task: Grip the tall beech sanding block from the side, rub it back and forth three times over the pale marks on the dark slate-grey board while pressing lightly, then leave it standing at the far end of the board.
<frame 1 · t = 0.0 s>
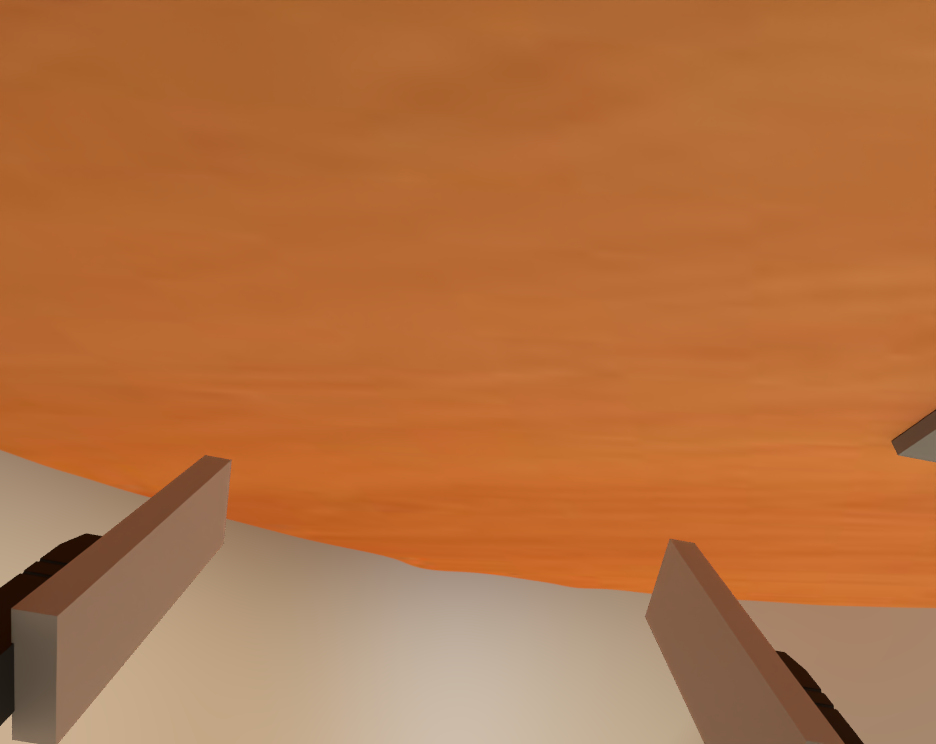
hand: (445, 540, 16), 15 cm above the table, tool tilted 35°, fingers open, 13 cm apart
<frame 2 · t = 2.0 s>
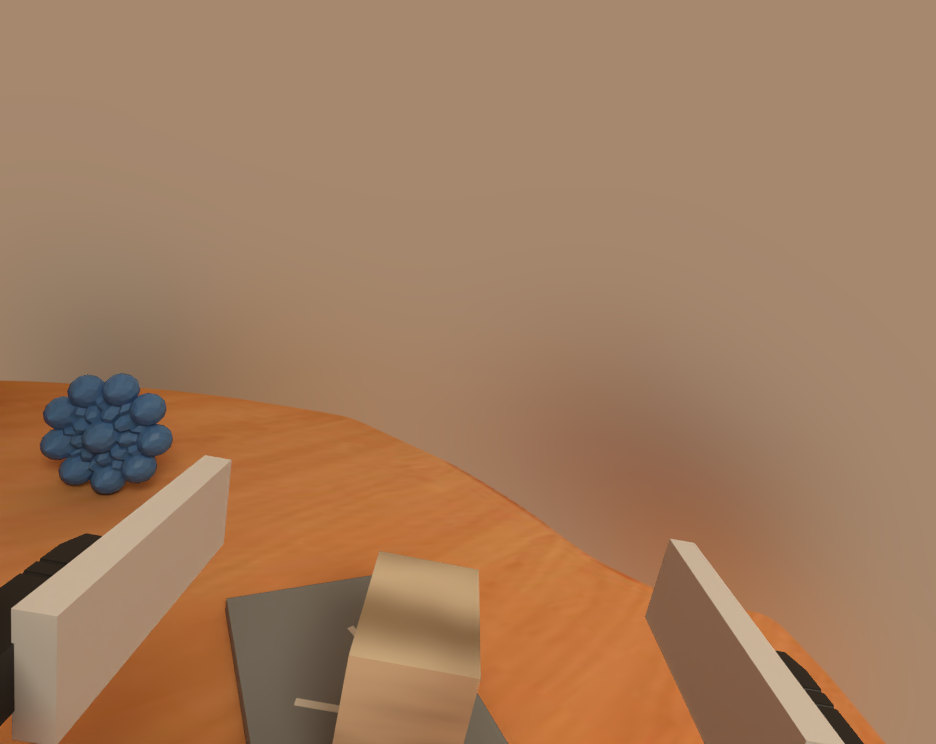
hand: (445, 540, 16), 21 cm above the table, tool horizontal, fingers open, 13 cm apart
grapes: (111, 490, 50), on the table
board: (364, 708, 34), on the table
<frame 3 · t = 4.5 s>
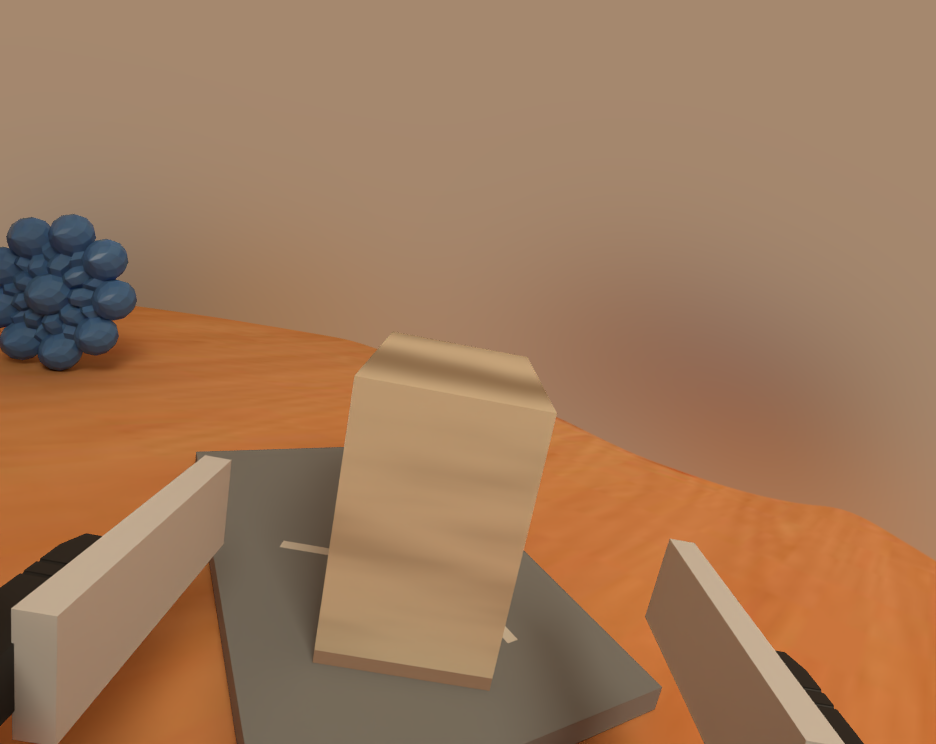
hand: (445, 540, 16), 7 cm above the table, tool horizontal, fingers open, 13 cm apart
grapes: (65, 369, 42), on the table
board: (375, 562, 25), on the table
sanding block: (413, 599, 22), point 1 cm above the table, touching board
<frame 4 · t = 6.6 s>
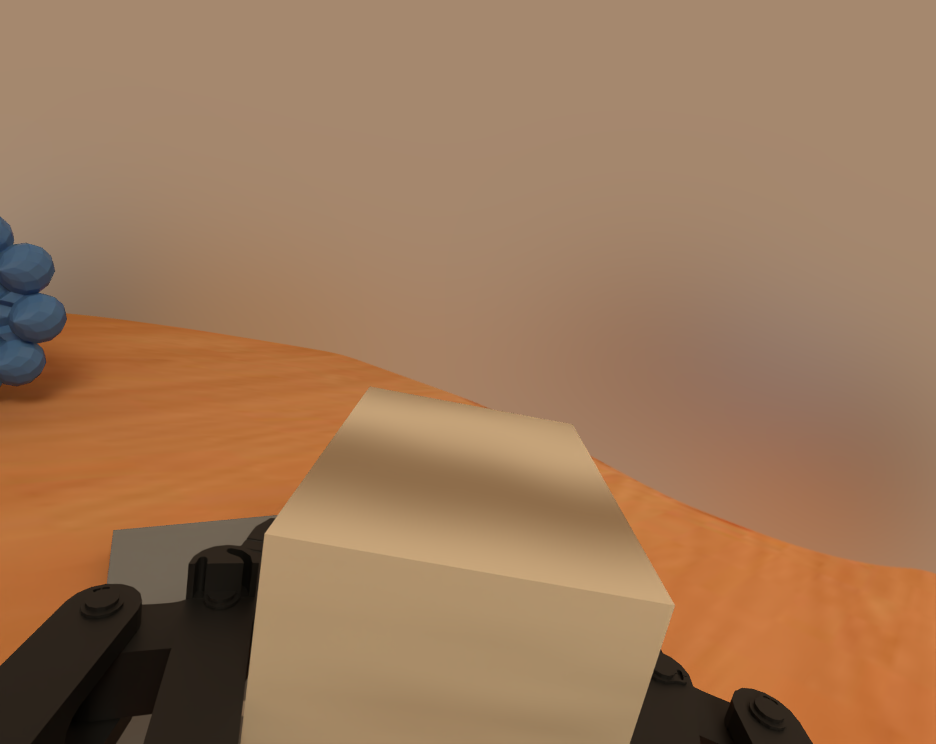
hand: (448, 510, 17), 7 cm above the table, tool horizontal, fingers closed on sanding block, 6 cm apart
board: (347, 715, 17), on the table
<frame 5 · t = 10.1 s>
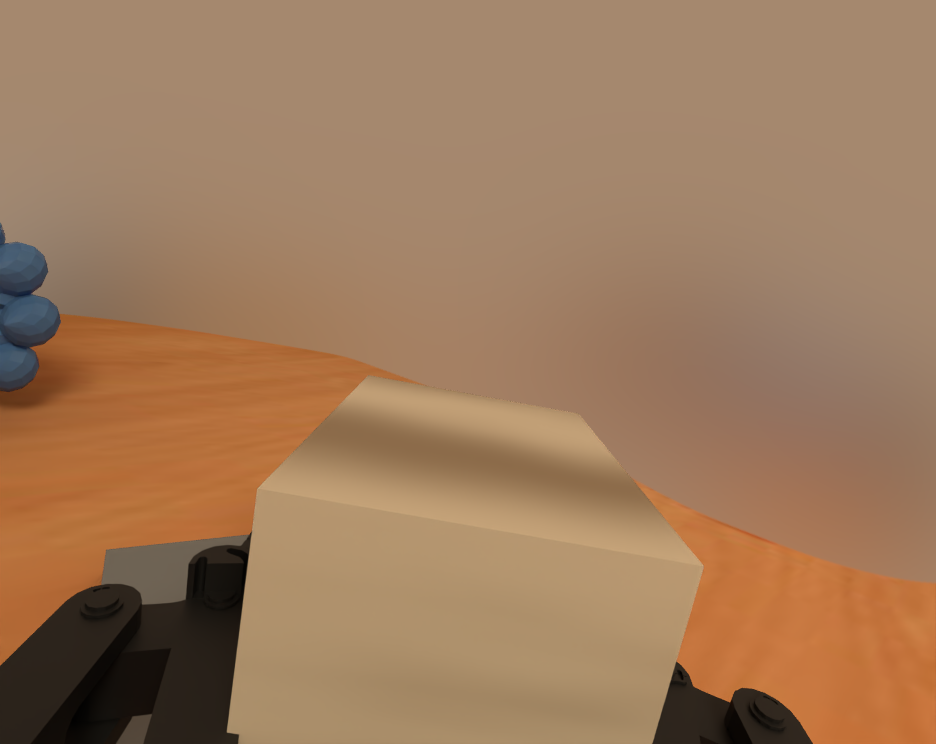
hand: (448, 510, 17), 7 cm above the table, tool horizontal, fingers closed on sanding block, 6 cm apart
when the fingers open (7 cm above the table, at t = 13.4 s): sanding block stays where it is, resting on board.
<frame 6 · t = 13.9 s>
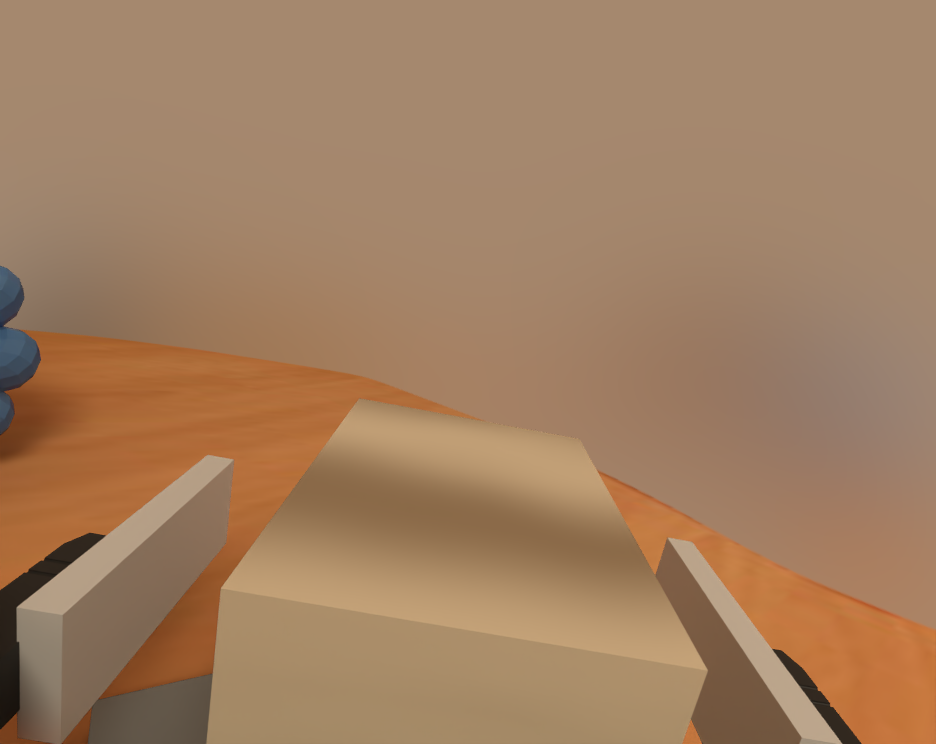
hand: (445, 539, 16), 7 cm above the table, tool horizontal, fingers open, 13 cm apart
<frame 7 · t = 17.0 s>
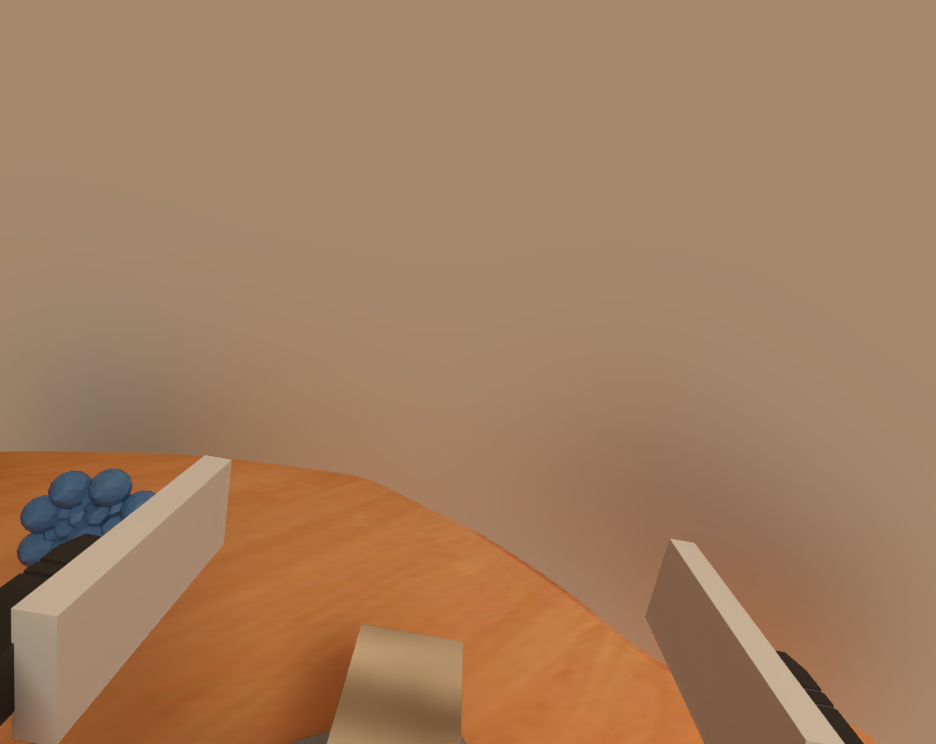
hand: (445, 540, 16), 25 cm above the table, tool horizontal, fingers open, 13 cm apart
grapes: (100, 597, 44), on the table
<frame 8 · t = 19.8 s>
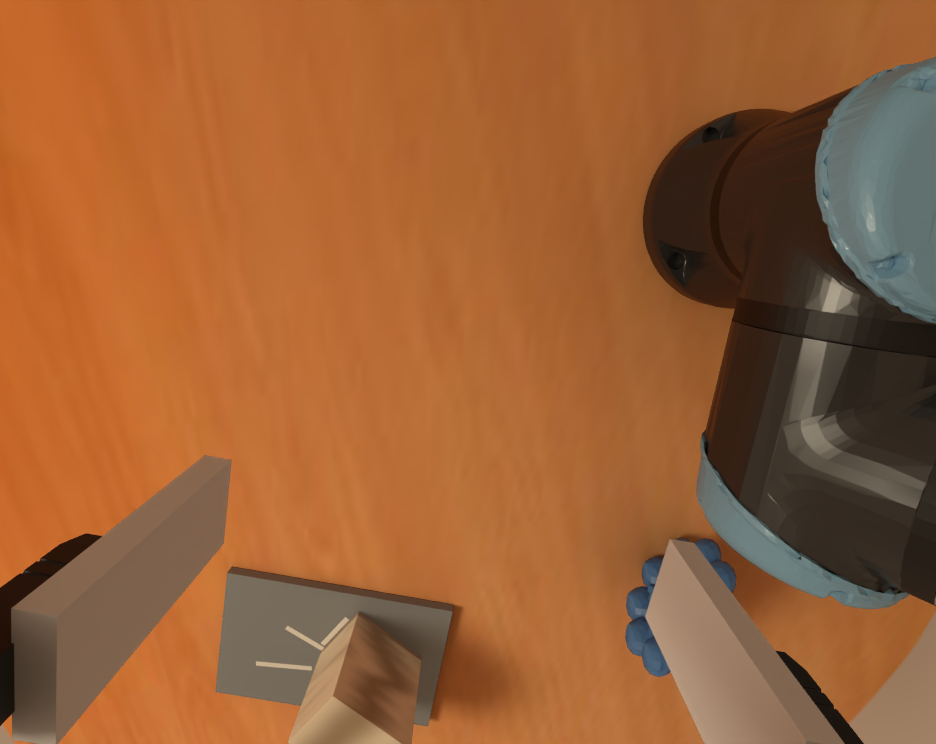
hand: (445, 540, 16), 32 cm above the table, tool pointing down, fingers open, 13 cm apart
grapes: (659, 566, 52), on the table
board: (334, 645, 54), on the table
sanding block: (371, 653, 53), point 1 cm above the table, touching board
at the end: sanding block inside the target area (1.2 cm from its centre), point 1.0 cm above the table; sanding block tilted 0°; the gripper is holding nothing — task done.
